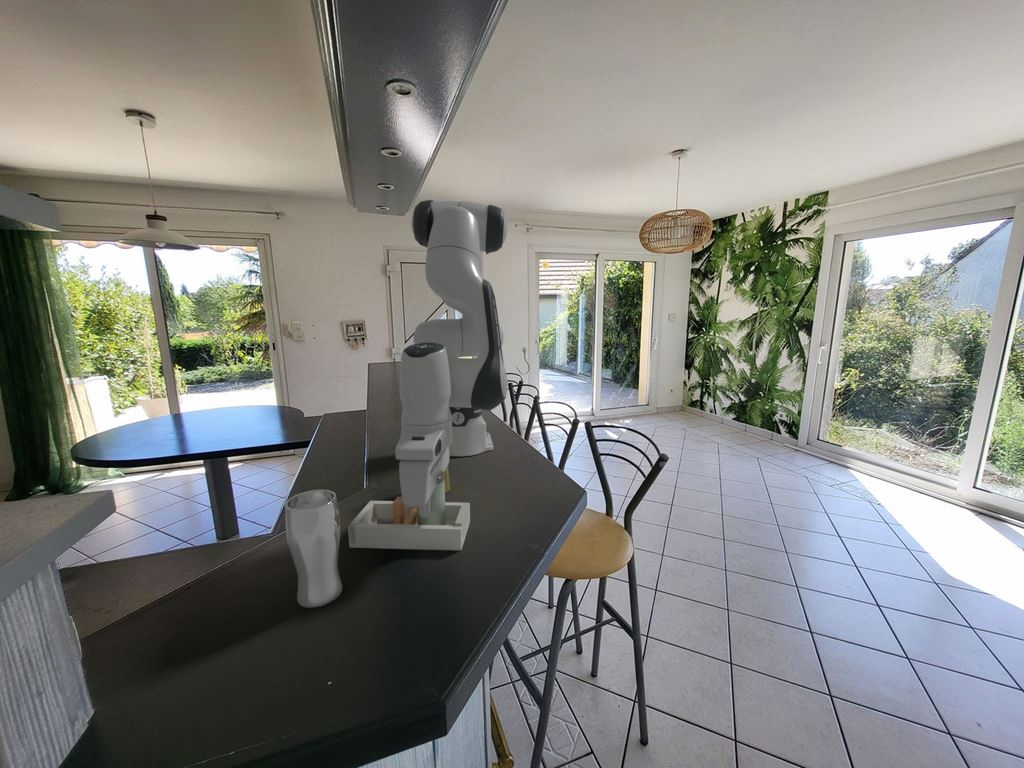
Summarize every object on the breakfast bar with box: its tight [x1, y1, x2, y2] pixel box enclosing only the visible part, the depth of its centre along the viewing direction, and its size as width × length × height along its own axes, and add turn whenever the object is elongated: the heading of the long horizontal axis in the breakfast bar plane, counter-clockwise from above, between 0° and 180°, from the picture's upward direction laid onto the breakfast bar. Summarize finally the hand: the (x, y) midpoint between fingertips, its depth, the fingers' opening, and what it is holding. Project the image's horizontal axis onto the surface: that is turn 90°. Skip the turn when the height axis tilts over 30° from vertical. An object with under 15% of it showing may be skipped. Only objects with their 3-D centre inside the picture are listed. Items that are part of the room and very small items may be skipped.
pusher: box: [377, 496, 417, 525], centre depth 76 cm, size 7×7×6 cm
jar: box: [417, 471, 446, 525], centre depth 76 cm, size 5×5×10 cm
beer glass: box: [284, 489, 343, 609], centre depth 59 cm, size 7×7×15 cm
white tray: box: [347, 500, 471, 551], centre depth 77 cm, size 10×20×4 cm, turn 87°
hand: (430, 506), depth 76 cm, fingers closed on jar, 5 cm apart
